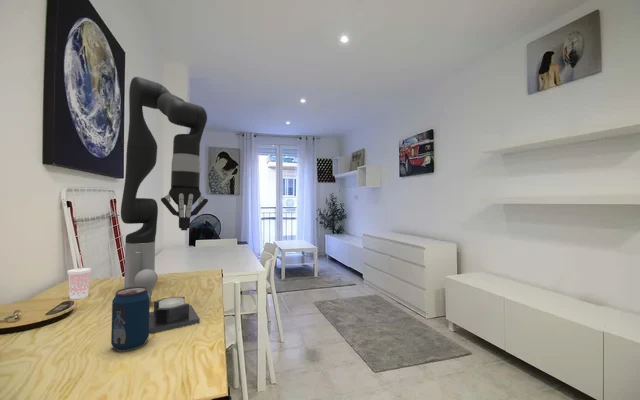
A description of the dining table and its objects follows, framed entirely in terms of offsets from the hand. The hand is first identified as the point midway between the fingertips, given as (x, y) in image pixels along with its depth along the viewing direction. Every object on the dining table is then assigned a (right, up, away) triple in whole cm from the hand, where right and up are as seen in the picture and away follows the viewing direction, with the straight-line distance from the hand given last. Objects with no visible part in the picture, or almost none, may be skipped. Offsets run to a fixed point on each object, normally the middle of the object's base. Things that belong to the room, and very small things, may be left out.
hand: (184, 230), depth 83 cm
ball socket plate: (0, -24, -7) cm, 24 cm away
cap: (0, -22, -7) cm, 23 cm away
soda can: (-2, -23, -20) cm, 31 cm away
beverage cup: (-41, -24, +12) cm, 48 cm away
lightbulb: (-14, -24, +4) cm, 28 cm away
